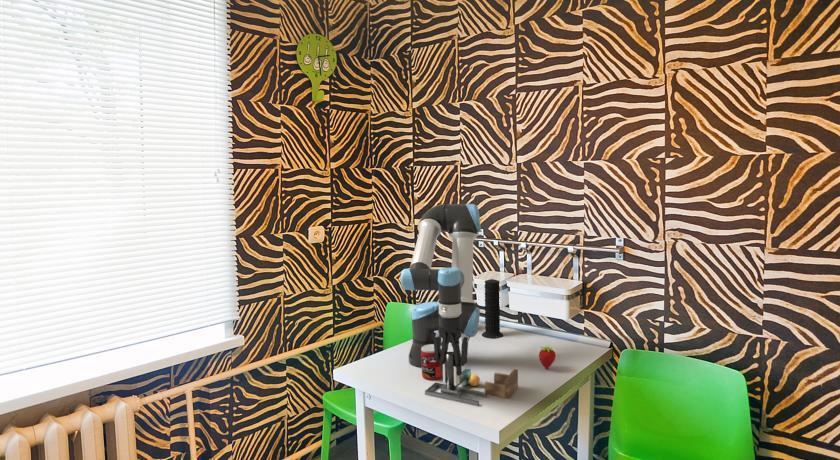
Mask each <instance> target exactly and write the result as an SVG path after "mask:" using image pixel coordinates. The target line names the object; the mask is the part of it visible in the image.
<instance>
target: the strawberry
mask: <svg viewBox="0 0 840 460" xmlns="http://www.w3.org/2000/svg"><path fill="white" fill-rule="evenodd" d="M549 345H550V344H549V343H548V344H547V345H546V346H544V347H540V351H539V352H538V358H539V362H540V363H541V365H542V366H543V367H544V369H545V370H548V369H549V368H550V367H551V366H552V364H553V363H554V362H555V359H556V356H557V355H556V351H555V350H554V349H553V347H550V346H549Z"/></svg>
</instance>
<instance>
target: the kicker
mask: <svg viewBox="0 0 840 460" xmlns="http://www.w3.org/2000/svg"><path fill="white" fill-rule="evenodd" d="M455 365H456V363H455V357H454V352H453V351H448V352H446V383H444V384H445V385H444V386H443V387H442V388H440V393H444V394H449V395H454V396H458V397H460V396H461V395H462V394H463V393H462V388H463V387H462V386H460V385H463V386H468V385H470V383H469V381H468V379H469V377H470V375H472V374H471V373H472V372H471V369H470V368H464V369H463V370H462V374H461V375H460V376H459V378H460V383H459V384H458V385H456V386H454V366H455Z"/></svg>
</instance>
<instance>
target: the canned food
mask: <svg viewBox="0 0 840 460" xmlns="http://www.w3.org/2000/svg"><path fill="white" fill-rule="evenodd" d="M441 350H442V346H441ZM421 360H422V367H421V376H422V379H424V380H427V381H437V380H440V379H443V373H442V372H441V364H440V362H439V361H436V360H435V352H434V344H429V345H425V346H423V347H422V348H421Z"/></svg>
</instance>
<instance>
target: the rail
mask: <svg viewBox="0 0 840 460" xmlns="http://www.w3.org/2000/svg"><path fill="white" fill-rule="evenodd" d="M445 384H446V383H440V382H434V383H433V384H431V386H429V387H428V388H427V389H425V390H424V395H425V396H430V397H435V398H439V399H444V400H449V401H453V402H458V403H461V404H462V403H464V404H466V405H471V406H476V407H478V406H479V405H480V400H477V399H472V398H467V397H464V396H463V397H462V396H454V395H449V394H444V393H441V392H439V391H435V390H436V389H441V388H442V387H443V386H444V385H445ZM461 394H466V395H471V396H475V397H481V398H486V397H487V396H488V395H487V393H486V392H485V391H480V390H474V389H470V388H464V387H462V393H461Z"/></svg>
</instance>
